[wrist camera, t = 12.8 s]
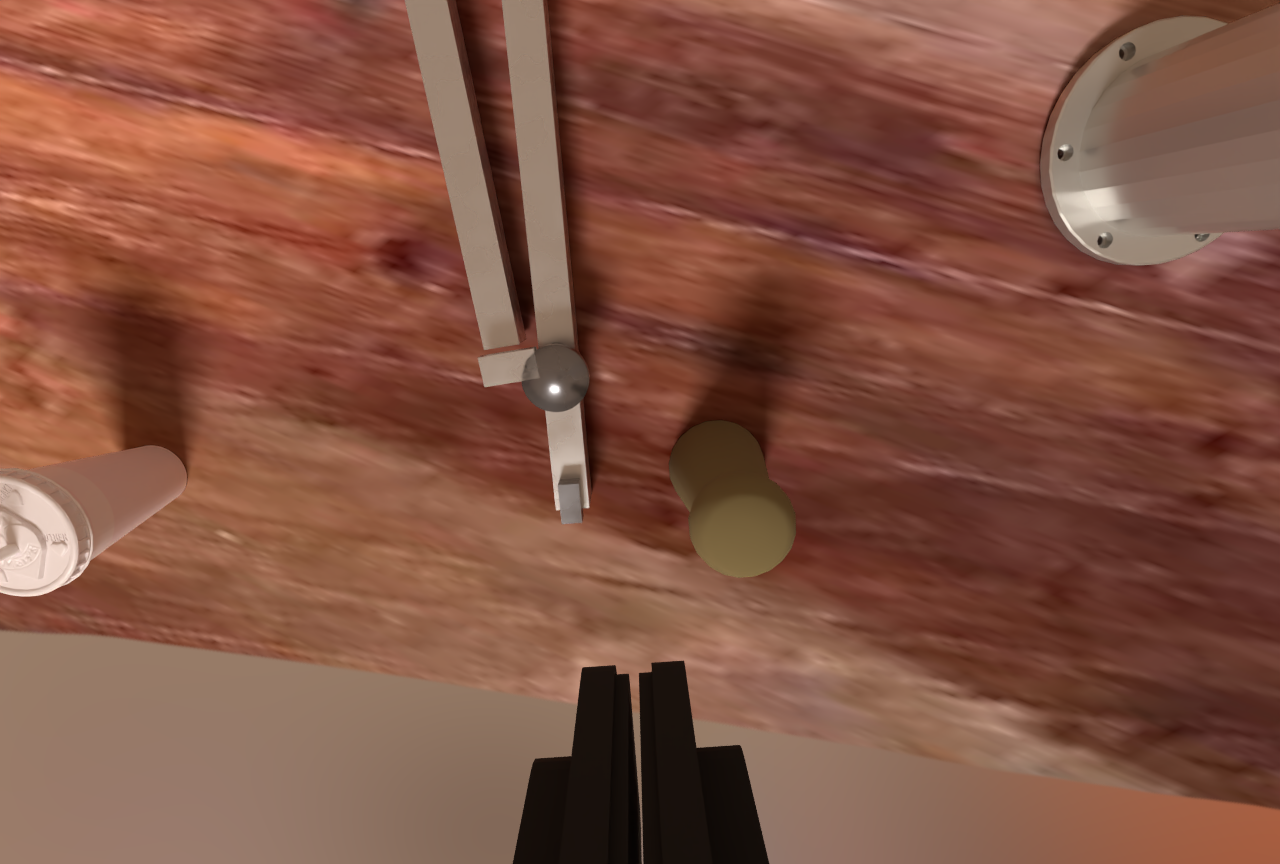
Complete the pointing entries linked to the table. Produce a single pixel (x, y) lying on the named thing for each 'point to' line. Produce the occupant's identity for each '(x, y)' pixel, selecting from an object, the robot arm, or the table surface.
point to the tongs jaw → (484, 217)
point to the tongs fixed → (547, 232)
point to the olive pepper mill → (731, 500)
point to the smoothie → (77, 512)
